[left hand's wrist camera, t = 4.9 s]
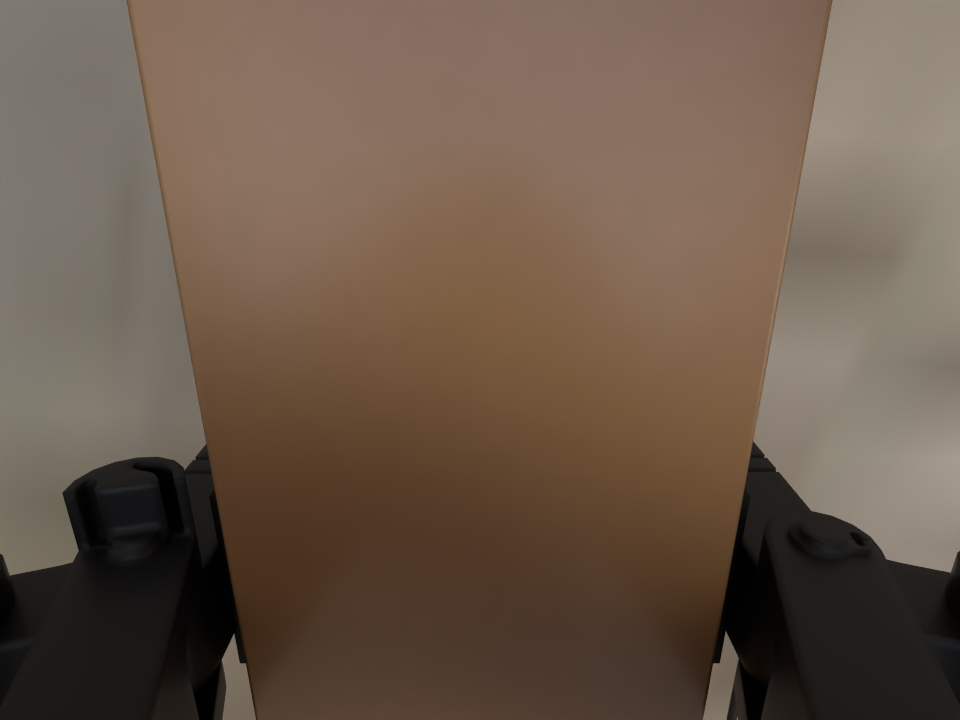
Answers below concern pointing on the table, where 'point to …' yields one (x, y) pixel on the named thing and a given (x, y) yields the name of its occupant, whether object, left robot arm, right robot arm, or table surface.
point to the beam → (479, 332)
